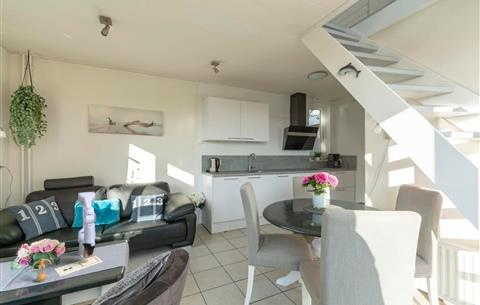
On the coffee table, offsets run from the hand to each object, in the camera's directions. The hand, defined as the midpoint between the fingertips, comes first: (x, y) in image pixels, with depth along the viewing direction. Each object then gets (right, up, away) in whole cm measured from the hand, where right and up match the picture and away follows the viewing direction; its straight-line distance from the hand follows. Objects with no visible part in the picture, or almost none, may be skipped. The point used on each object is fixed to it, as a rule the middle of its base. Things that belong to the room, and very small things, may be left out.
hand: (89, 254), depth 139 cm
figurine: (-13, -5, -20) cm, 24 cm away
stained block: (0, -1, 0) cm, 1 cm away
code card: (-3, -5, -4) cm, 7 cm away
